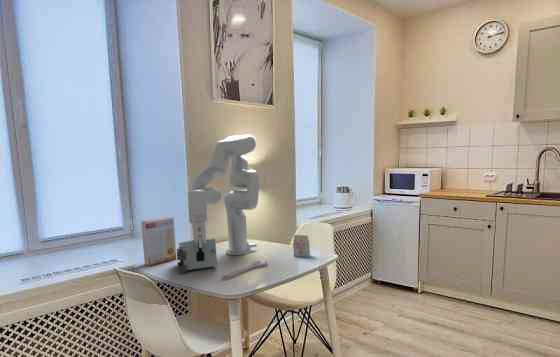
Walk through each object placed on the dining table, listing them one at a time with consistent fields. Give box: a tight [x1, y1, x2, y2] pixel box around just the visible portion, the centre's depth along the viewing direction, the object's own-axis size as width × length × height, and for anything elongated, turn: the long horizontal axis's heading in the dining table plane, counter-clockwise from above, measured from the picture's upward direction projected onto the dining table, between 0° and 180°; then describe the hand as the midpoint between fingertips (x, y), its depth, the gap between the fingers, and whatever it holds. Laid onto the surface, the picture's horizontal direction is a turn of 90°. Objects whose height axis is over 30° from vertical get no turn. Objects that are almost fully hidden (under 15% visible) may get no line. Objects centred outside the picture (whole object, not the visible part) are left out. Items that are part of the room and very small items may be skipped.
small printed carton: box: [293, 234, 311, 258], centre depth 164 cm, size 4×7×10 cm, turn 63°
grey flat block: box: [182, 237, 218, 271], centre depth 148 cm, size 14×4×12 cm, turn 107°
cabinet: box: [176, 241, 188, 275], centre depth 154 cm, size 16×16×10 cm
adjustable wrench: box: [221, 260, 269, 281], centre depth 145 cm, size 25×6×2 cm, turn 137°
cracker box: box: [140, 216, 177, 267], centre depth 164 cm, size 14×6×21 cm, turn 135°
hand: (200, 259), depth 149 cm, fingers closed on grey flat block, 2 cm apart
